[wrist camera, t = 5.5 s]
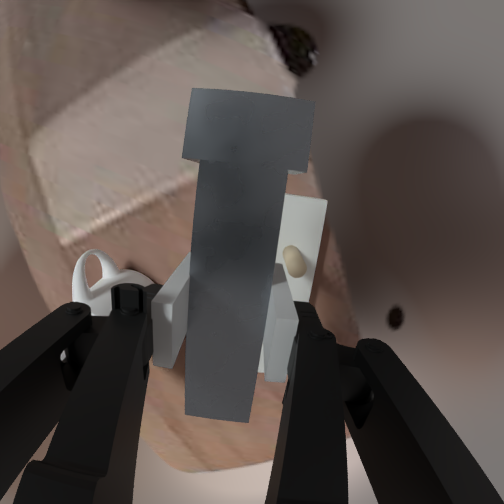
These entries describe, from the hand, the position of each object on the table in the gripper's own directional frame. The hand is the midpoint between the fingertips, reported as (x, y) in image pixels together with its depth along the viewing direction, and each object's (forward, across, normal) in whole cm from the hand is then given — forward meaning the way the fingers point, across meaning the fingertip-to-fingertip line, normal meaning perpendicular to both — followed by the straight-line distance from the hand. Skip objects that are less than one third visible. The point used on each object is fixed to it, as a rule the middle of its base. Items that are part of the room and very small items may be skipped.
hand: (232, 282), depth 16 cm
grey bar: (+1, 0, +1) cm, 1 cm away
